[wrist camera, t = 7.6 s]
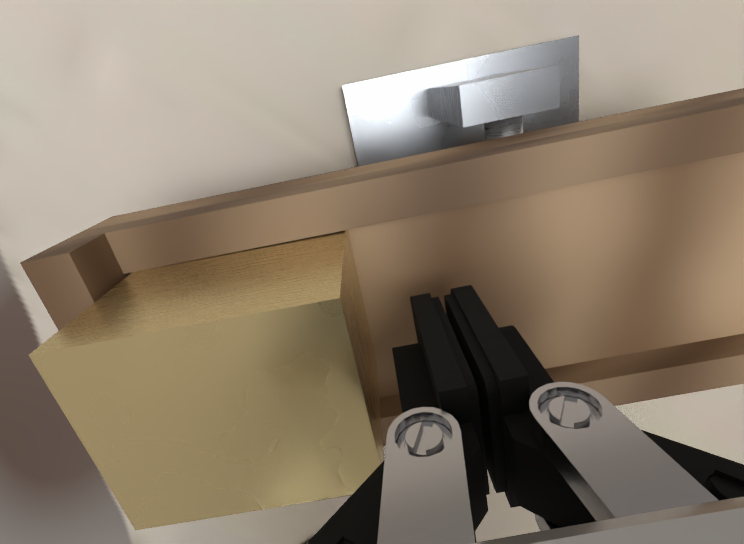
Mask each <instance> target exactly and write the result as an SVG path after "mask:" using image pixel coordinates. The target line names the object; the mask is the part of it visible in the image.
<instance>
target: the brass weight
mask: <svg viewBox="0 0 744 544" xmlns="http://www.w3.org/2000/svg"><path fill="white" fill-rule="evenodd" d="M29 356H30V358H31V360H32V362H33V363H34V365H35V366H36V368H37V370H38V371H39V373H40V374H41V376H42V378H43V380H44V381H45V383H46V384H47V386H48V388H49V389H50V391H51V393H52V394H53V396H54V398H55V399H56V401H57V402H58V404H59V406H60V407H61V409H62V411H63V412H64V414H65V415H66V417H67V419H68V420H69V422H70V423H71V425H72V427H73V429H74V430H75V432H76V433H77V435H78V437H79V438H80V440H81V442H82V443H83V445H84V447H85V448H86V450H87V451H88V453H89V455H90V456H91V458H92V460H93V461H94V463H95V465H96V466H97V468H98V469H99V471H100V473H101V474H102V476H103V478H104V479H105V481H106V483H107V484H108V486H109V487H110V489H111V491H112V492H113V494H114V496H115V497H116V499H117V501H118V502H119V504H120V505H121V507H122V509H123V510H124V512H125V514H126V515H127V517H128V518H129V520H130V522H131V523H132V525H133V527H134V528H135V530H140V529H146V528H152V527H158V526H164V525H170V524H176V523H182V522H189V521H195V520H201V519H207V518H213V517H219V516H225V515H231V514H238V513H244V512H250V511H256V510H262V509H268V508H274V507H281V506H287V505H293V504H299V503H305V502H311V501H317V500H323V499H330V498H336V497H342V496H348V495H352V494H353V493H354V492H355V491H356V490H357V489H358V488H359V487H360V486H361V485H362V484H363V483H364V481H365V480H366V479H367V478H368V477H369V476H370V475H371V474H372V473H373V472H374V471H375V470H376V468H377V467H378V466H379V465H380V464H381V463H382V462H383V461H384V452H383V438H382V425H381V412H380V398H379V385H378V372H377V360H376V356H375V351H374V347H373V342H372V337H371V333H370V328H369V324H368V319H367V315H366V310H365V305H364V301H363V296H362V292H361V287H360V283H359V278H358V273H357V269H356V264H355V260H354V255H353V251H352V246H351V241H350V237H349V232H348V230H344V231H339V232H334V233H329V234H324V235H319V236H314V237H309V238H304V239H299V240H293V241H288V242H283V243H278V244H273V245H268V246H263V247H258V248H253V249H248V250H243V251H238V252H232V253H227V254H222V255H217V256H212V257H207V258H202V259H197V260H192V261H187V262H182V263H177V264H171V265H166V266H161V267H156V268H151V269H146V270H141V271H136V272H132V273H131V274H130V275H129V276H127V277H126V278H125V279H124V280H122V281H121V282H120V283H118V284H117V285H116V286H115V287H113V288H112V289H111V290H110V291H108V292H107V293H106V294H105V295H103V296H102V297H101V298H100V299H98V300H97V301H96V302H95V303H93V304H92V305H91V306H90V307H88V308H87V309H86V310H85V311H83V312H82V313H81V314H80V315H78V316H77V317H76V318H74V319H73V320H72V321H71V322H69V323H68V324H67V325H66V326H64V327H63V328H62V329H61V330H59V331H58V332H57V333H56V334H54V335H53V336H52V337H51V338H49V339H48V340H47V341H46V342H44V343H43V344H42V345H41V346H39V347H38V348H37V349H36V350H34V351H33V352H32V353H31V354H29Z"/></svg>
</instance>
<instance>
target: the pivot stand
mask: <svg viewBox="0 0 744 544" xmlns="http://www.w3.org/2000/svg"><path fill="white" fill-rule="evenodd" d="M342 88H343V93H344V98H345V103H346V108H347V113H348V118H349V123H350V128H351V133H352V137H353V142H354V147H355V152H356V157H357V162H358V167H359V166H364V165H369V164H374V163H379V162H384V161H389V160H393V159H398V158H403V157H408V156H413V155H418V154H423V153H428V152H433V151H438V150H443V149H448V148H452V147H457V146H462V145H467V144H472V143H477V142H482V141H487V140H492V139H497V138H502V137H507V136H511V135H516V134H521V133H526V132H531V131H536V130H541V129H546V128H551V127H556V126H561V125H566V124H571V123H575V122H578V117H579V35H578V36H573V37H569V38H564V39H559V40H554V41H550V42H545V43H540V44H536V45H531V46H526V47H521V48H517V49H512V50H507V51H502V52H498V53H493V54H488V55H484V56H479V57H474V58H469V59H465V60H460V61H455V62H451V63H446V64H441V65H436V66H432V67H427V68H422V69H418V70H413V71H408V72H403V73H399V74H394V75H389V76H385V77H380V78H375V79H370V80H366V81H361V82H356V83H352V84H347V85H342Z"/></svg>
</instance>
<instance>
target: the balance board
mask: <svg viewBox="0 0 744 544" xmlns="http://www.w3.org/2000/svg"><path fill="white" fill-rule="evenodd" d="M344 230H348V232H349V237H350V241H351V246H352V251H353V255H354V260H355V264H356V269H357V273H358V278H359V283H360V287H361V292H362V296H363V301H364V305H365V310H366V315H367V319H368V324H369V328H370V333H371V337H372V342H373V347H374V351H375V356H376V360H377V372H378V385H379V398H380V412H381V425H382V438H383V446H385V445H386V438H387V433H388V429H389V427H390V425H391V424H392V422H393V421H394V420H395V419H396V418H397V417H398V416H400V415H401V414H402V408H401V402H400V395H399V389H398V383H397V377H396V371H395V365H394V359H393V352H392V348H394V347H399V346H405V345H410V344H415V343H418V341H417V336H416V330H415V324H414V318H413V313H412V307H411V301H410V297H411V296H416V295H421V294H426V293H430V295H431V297H432V298H433V297H439V299H440V301H441V303H442V306H443V308H444V310H445V312H446V309H445V302H444V295H448V294H451V293H450V290H451V289H452V288H457V287H462V286H468V285H472V287H473V288H474V290H475V291H476V293H477V294H478V296H479V298H480V299H481V301H482V302H483V304H484V306H485V307H486V309H487V310H488V312H489V313H490V315H491V317H492V318H493V320H494V321H495V323H496V324H497V326H498V328H499V327H505V326H510V325H513V326H514V327H515V328H516V329H517V330H518V332H519V333H520V335H521V336H522V337H523V339H524V340H525V342H526V343H527V344H528V346H529V347H530V349H531V350H532V352H533V353H534V354H535V356H536V357H537V359H538V360H539V361H540V363H541V364H542V366H543V367H544V369H545V370H546V371H547V373H548V374H549V376H550V377H551V378H552V380H553V381H554V383H555V382H572V383H577V384H581V385H584V386H587V387H589V388H591V389H594V390H595V391H597V392H598V393H599V394H601V395H602V396H604V397H605V398H606V399H607V400H608V401H609V402H610V403H611V404H612V405H614V406H616V405H622V404H628V403H634V402H640V401H645V400H651V399H657V398H663V397H669V396H674V395H680V394H686V393H692V392H697V391H703V390H709V389H715V388H721V387H726V386H732V385H738V384H744V88H743V89H738V90H733V91H728V92H723V93H718V94H713V95H708V96H703V97H698V98H694V99H689V100H684V101H679V102H674V103H669V104H664V105H659V106H654V107H649V108H644V109H639V110H634V111H630V112H625V113H620V114H615V115H610V116H605V117H600V118H595V119H590V120H585V121H580V122H575V123H571V124H566V125H561V126H556V127H551V128H546V129H541V130H536V131H531V132H526V133H521V134H516V135H511V136H507V137H502V138H497V139H492V140H487V141H482V142H477V143H472V144H467V145H462V146H457V147H452V148H448V149H443V150H438V151H433V152H428V153H423V154H418V155H413V156H408V157H403V158H398V159H393V160H389V161H384V162H379V163H374V164H369V165H364V166H359V167H354V168H349V169H344V170H339V171H334V172H329V173H325V174H320V175H315V176H310V177H305V178H300V179H295V180H290V181H285V182H280V183H275V184H270V185H266V186H261V187H256V188H251V189H246V190H241V191H236V192H231V193H226V194H221V195H216V196H211V197H206V198H202V199H197V200H192V201H187V202H182V203H177V204H172V205H167V206H162V207H157V208H152V209H147V210H143V211H138V212H133V213H128V214H123V215H118V216H113V217H110V218H108V219H106V220H104V221H102V222H100V223H98V224H96V225H94V226H93V227H91V228H89V229H87V230H85V231H83V232H81V233H79V234H77V235H75V236H73V237H71V238H69V239H67V240H65V241H63V242H61V243H59V244H57V245H55V246H53V247H51V248H49V249H47V250H45V251H43V252H41V253H39V254H37V255H35V256H33V257H31V258H29V259H27V260H25V261H23V262H21V265H22V267H23V269H24V270H25V272H26V274H27V276H28V278H29V279H30V281H31V283H32V285H33V286H34V288H35V290H36V292H37V293H38V295H39V297H40V299H41V300H42V302H43V304H44V306H45V307H46V309H47V311H48V313H49V314H50V316H51V318H52V320H53V321H54V323H55V325H56V327H57V328H58V330H61V329H62V328H63V327H64V326H66V325H67V324H68V323H69V322H71V321H72V320H73V319H74V318H76V317H77V316H78V315H80V314H81V313H82V312H83V311H85V310H86V309H87V308H88V307H90V306H91V305H92V304H93V303H95V302H96V301H97V300H98V299H100V298H101V297H102V296H103V295H105V294H106V293H107V292H108V291H110V290H111V289H112V288H113V287H115V286H116V285H117V284H118V283H120V282H121V281H122V280H124V279H125V278H126V277H127V276H129V275H130V274H131V273H132V272H136V271H141V270H146V269H151V268H156V267H161V266H166V265H171V264H177V263H182V262H187V261H192V260H197V259H202V258H207V257H212V256H217V255H222V254H227V253H232V252H238V251H243V250H248V249H253V248H258V247H263V246H268V245H273V244H278V243H283V242H288V241H293V240H299V239H304V238H309V237H314V236H319V235H324V234H329V233H334V232H339V231H344Z"/></svg>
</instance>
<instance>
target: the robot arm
mask: <svg viewBox="0 0 744 544" xmlns="http://www.w3.org/2000/svg"><path fill="white" fill-rule="evenodd" d="M450 293H451V294H448V295H444V302H445V309H446V312H445V310H444V308H443V306H442V303H441V301H440V299H439V297H433V298H432V297H431V295H430V293H426V294H421V295H416V296H411V297H410V301H411V307H412V313H413V318H414V324H415V330H416V336H417V341H418V343H415V344H410V345H405V346H399V347H394V348H392V352H393V359H394V365H395V371H396V377H397V383H398V389H399V395H400V402H401V408H402V414H401V415H400V416H398V417H397V418H396V419H395V420H394V421H393V422H392V424H391V425H390V427H389V429H388V433H387V438H386V449H385V460H384V461H383V462H382V463H381V464H380V465H379V466H378V467H377V468H376V470H375V471H374V472H373V473H372V474H371V475H370V476H369V477H368V478H367V479H366V480H365V481H364V483H363V484H362V485H361V486H360V487H359V488H358V489H357V490H356V491H355V492H354V493H353V494H352V495H351V497H350V498H349V499H348V500H347V501H346V502H345V503H344V504H343V505H342V506H341V507H340V508H339V510H338V511H337V512H336V513H335V514H334V515H333V516H332V517H331V518H330V519H329V520H328V521H327V523H326V524H325V525H324V526H323V527H322V528H321V529H320V530H319V531H318V532H317V533H316V534H315V536H314V537H313V538H312V539H311V540H310V541H309V542H308V543H307V544H744V465H743V464H740V463H737V462H734V461H731V460H728V459H725V458H722V457H719V456H716V455H713V454H710V453H707V452H705V451H702V450H699V449H696V448H693V447H690V446H687V445H684V444H681V443H678V442H675V441H672V440H669V439H666V438H663V437H660V436H657V435H655V434H652V433H649V432H646V431H643V430H640V429H639V428H638V427H637V426H636V425H635V424H634V423H632V422H631V421H630V420H629V419H628V418H627V417H626V416H625V415H624V414H622V413H621V412H620V411H619V410H618V409H617V408H616V407H615V406H614V405H612V404H611V403H610V402H609V401H608V400H607V399H606V398H605V397H604V396H602V395H601V394H599V393H598V392H597V391H595V390H594V389H591V388H589V387H587V386H584V385H581V384H577V383H572V382H555V383H554V381H553V380H552V378H551V377H550V376H549V374H548V373H547V371H546V370H545V369H544V367H543V366H542V364H541V363H540V361H539V360H538V359H537V357H536V356H535V354H534V353H533V352H532V350H531V349H530V347H529V346H528V344H527V343H526V342H525V340H524V339H523V337H522V336H521V335H520V333H519V332H518V330H517V329H516V328H515V327H514V326H513V325H510V326H505V327H499V328H498V326H497V324H496V323H495V321H494V320H493V318H492V317H491V315H490V313H489V312H488V310H487V309H486V307H485V306H484V304H483V302H482V301H481V299H480V298H479V296H478V294H477V293H476V291H475V290H474V288H473V287H472V285H468V286H462V287H457V288H452V289H451V290H450ZM487 470H488V472H489V475H490V478H491V480H492V483H493V486H494V489H495V491H496V492H497V493H499V492H504V491H505V494H506V497H507V499H508V502H509V504H510V507H517V506H521V507H523V508H525V509H527V510H529V511H531V512H533V513H534V514H535V518H536V522H537V524H538V527H539V529H540V531H539V532H534V533H528V534H522V535H517V536H511V537H505V538H499V539H494V540H488V541H482V542H476V535H475V530H476V529H477V527H478V526H479V524H480V523H481V521H482V519H483V518H484V516H485V515H486V513H487V511H488V506H487V497H486V495H487V494H489V484H488V475H487Z"/></svg>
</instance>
